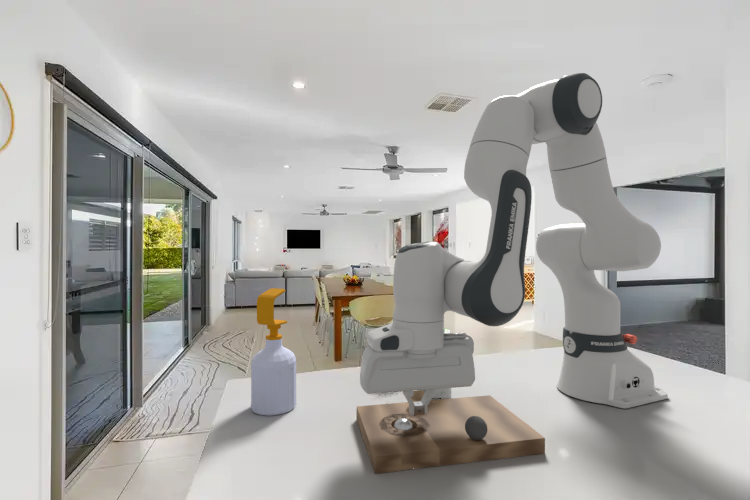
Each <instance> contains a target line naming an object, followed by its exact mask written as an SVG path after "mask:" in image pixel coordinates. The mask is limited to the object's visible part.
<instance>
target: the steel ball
mask: <svg viewBox="0 0 750 500" xmlns="http://www.w3.org/2000/svg"><path fill="white" fill-rule="evenodd" d="M393 428H395V429H397V430H402V431H408V430H413V425H412V423H411V422H410V421H409V420H408V419H406V418H400V419H398V420H397V421H396V422H395V423H394V426H393Z"/></svg>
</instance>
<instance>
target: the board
mask: <svg viewBox="0 0 750 500" xmlns="http://www.w3.org/2000/svg"><path fill="white" fill-rule="evenodd" d="M472 416H478V417H481V418H482V419H483V420H484V421H485V422H486V424H487V434H486V436H485V437H484V438H483V439H480V440H474V439H472V438H470V437H469V436H468V434H467V433H466V430H465V423H466V421H467V419H468V418H470V417H472ZM400 418H406V419H408V420H409V421H410V422H411V423H412V425H413V430H408V431H402V430H397V429H395V428H393V426H394V423H395V422H396V421H397V420H398V419H400ZM356 422H357V425H358V427H359V430H360V434H361V436H362V437H361V438H362V439H363V442H364V446H365V448H366V452H367V455H368V458H369V460H370V463H371V466H372V469H373V472H374V474H375V475H376V474H383V473H384V474H385V473H386V474H387V473H393V472H401V470H403V471H408V470H407V469H411V470H416V469H415V468H419V469H423V468H422V467H428V468H434V466H436V467H443V466H451V465H458V464H459V465H460V464H468V463H475V462H476V463H477V462H485V461H494V460H500V459H509V458H519V457H526V456H535V455H541V454H546V437H544V436H543V435H542V434H541V433H539V432H538V430H537V431H536V429H534V428H533V427H532V426H530V425H529V424H528V423H527V422H525V421H524V420H523V419H521V418H520V417H518V416H517V415H516V414H515V413H513V412H512V411H511V410H510V409H509V408H507V407H506V406H504V405H503V404H502V403H500V402H499V401H498V400H497V399H496V398H494V397H493V396H491V395H489V394H488V395H477V396H468V397H467V396H465V397H453V398H452V397H451V398H450V399H431V401H430V403H429V404H428V413H427V414H424V415H413V416H411V415H410V413H409V403H408V401H407V402H405V401H404V402H395V403H382V404H370V405H359V406H357V405H356ZM413 468H414V469H413Z"/></svg>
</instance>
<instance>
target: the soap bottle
mask: <svg viewBox="0 0 750 500" xmlns="http://www.w3.org/2000/svg"><path fill="white" fill-rule="evenodd" d="M284 293H286V289H285V288H278V287H277V288H275V287H273V288H272V287H271V288H268V289H267V290H265V291H264V292H263V293H261V294H260V295H258V297H257V299H256V322H257V324H258V325H263V326H266V330H267V329H268V330H269V334H267V335H266V336H265V346H264V347H263V348H261V349H260V350H259V351H258V352H256V353H255V354H254V355H253V356H252V359H251V362H250V370H251V371H250V372H251V373H250V378H251V379H250V380H251V381H250V387H251V388H250V389H251V391H250V393H251V394H250V397H251V398H250V400H251V401H250V404H251V406H250V408H251V411H252V412H253V413H255V414H256V415H259V416H277V415H283V414H285V413H288V412H290V411H292V410H293V409H294V408H295V406H296V405H297V357H296V356H295V353H294V352H293V351H292V350H290V349H288V348H287V347H284V346H283V334H279V329H281V328H282V327H281V326H282V325H285V324H288V320H283V319H275V317H274V316H275V315H274V314H275V312H274V311H275V309H274V308H275V300H276V299H277V298H278V297H279V296H282V294H284Z"/></svg>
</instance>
